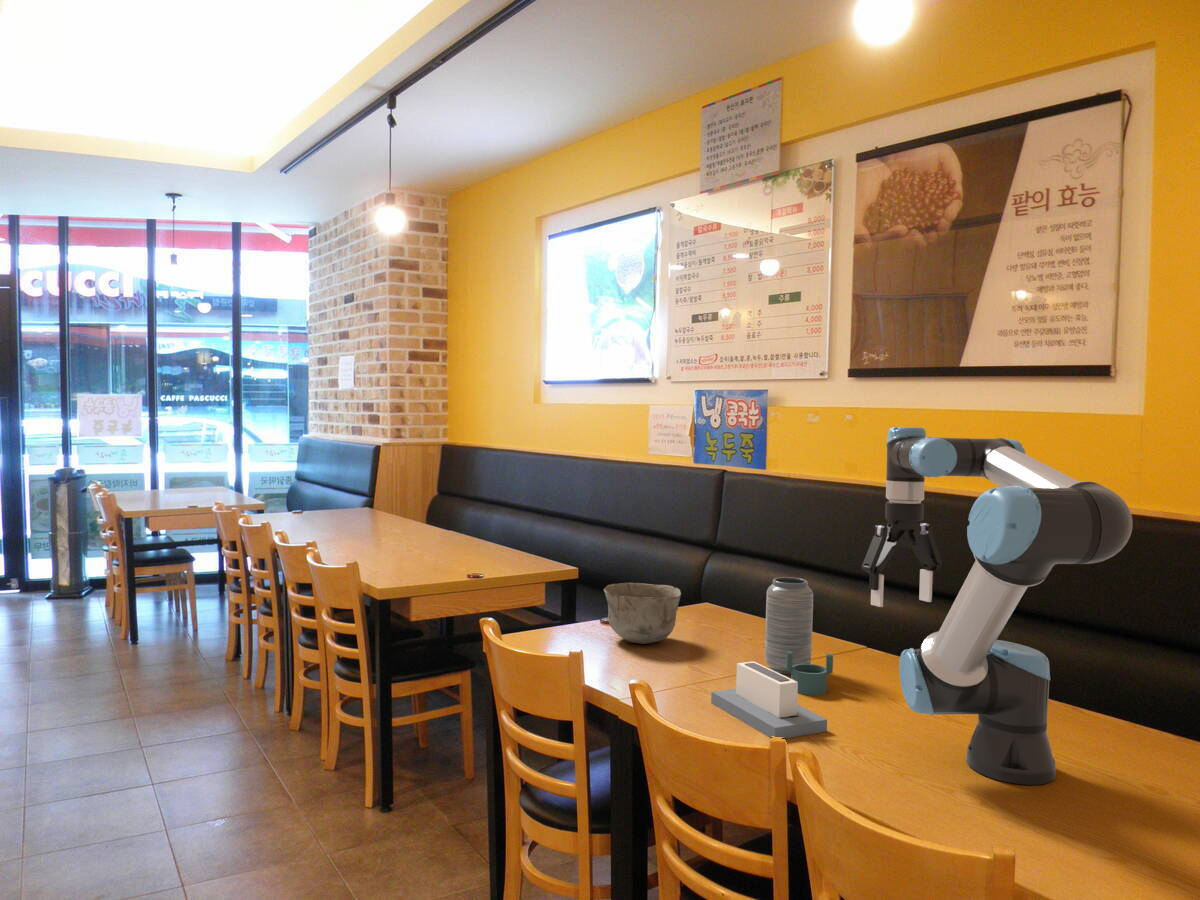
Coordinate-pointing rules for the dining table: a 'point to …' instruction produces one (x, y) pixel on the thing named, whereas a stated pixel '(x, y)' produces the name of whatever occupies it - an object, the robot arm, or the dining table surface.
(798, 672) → the bracket
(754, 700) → the block
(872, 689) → the dining table surface
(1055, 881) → the dining table surface
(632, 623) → the bowl
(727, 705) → the board
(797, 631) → the vase
